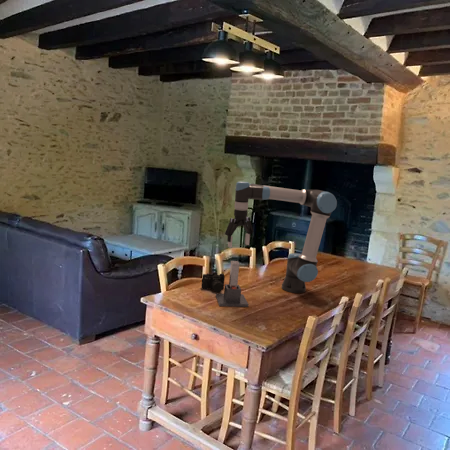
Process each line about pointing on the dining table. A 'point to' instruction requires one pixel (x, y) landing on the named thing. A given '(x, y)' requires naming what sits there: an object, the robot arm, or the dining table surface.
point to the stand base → (232, 297)
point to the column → (234, 274)
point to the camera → (213, 281)
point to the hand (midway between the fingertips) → (238, 246)
